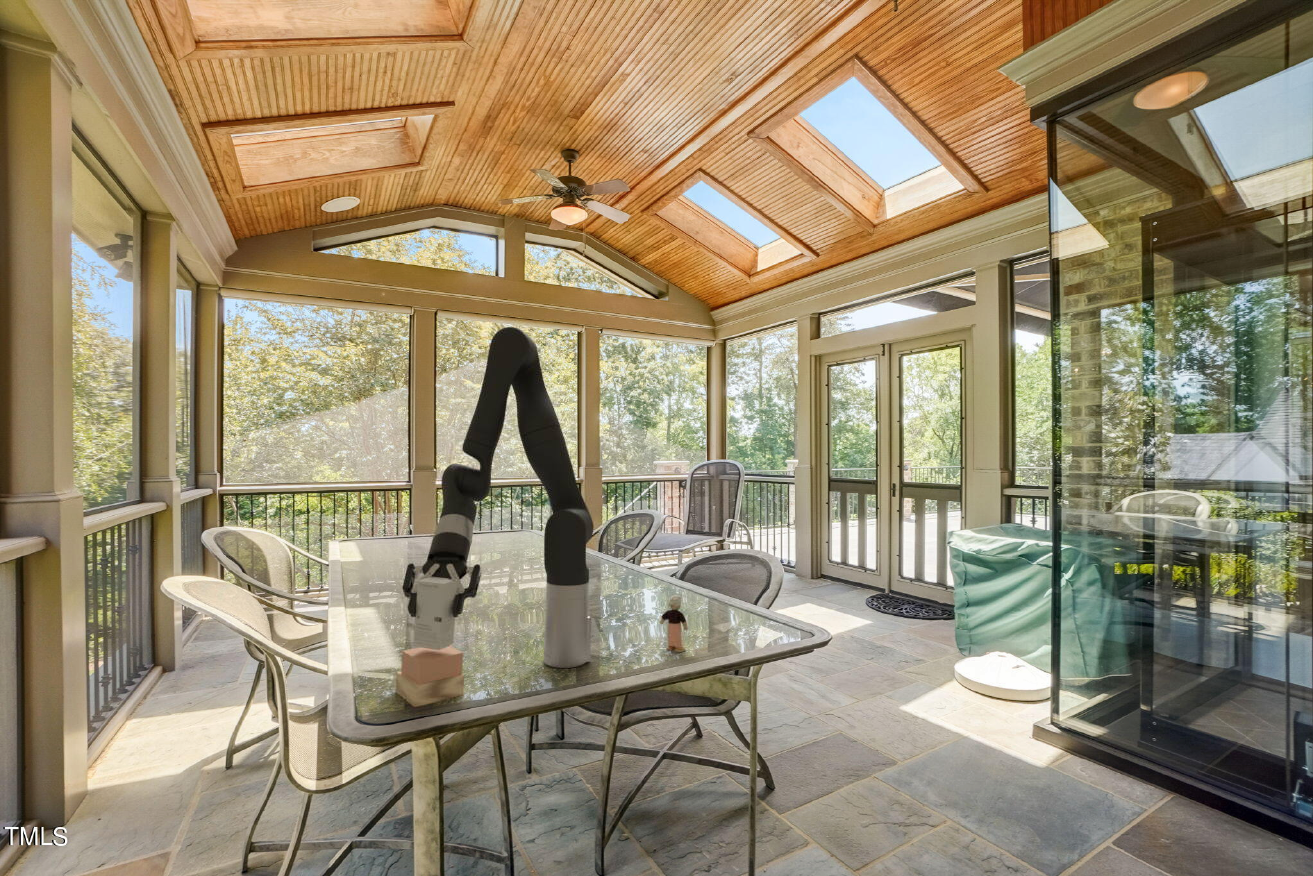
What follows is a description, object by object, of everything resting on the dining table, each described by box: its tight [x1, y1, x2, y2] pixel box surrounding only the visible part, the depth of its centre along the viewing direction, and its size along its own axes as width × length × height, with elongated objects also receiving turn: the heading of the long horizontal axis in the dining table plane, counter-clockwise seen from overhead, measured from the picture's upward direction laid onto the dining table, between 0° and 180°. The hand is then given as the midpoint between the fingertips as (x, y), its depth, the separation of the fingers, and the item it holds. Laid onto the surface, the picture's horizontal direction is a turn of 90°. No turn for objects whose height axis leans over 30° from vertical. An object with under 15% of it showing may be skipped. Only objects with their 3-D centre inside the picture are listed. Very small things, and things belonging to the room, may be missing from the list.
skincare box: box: [413, 577, 458, 650], centre depth 113 cm, size 6×4×12 cm
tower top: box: [401, 645, 464, 685], centre depth 113 cm, size 8×8×4 cm
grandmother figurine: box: [659, 594, 689, 653], centre depth 144 cm, size 8×4×13 cm, turn 65°
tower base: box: [395, 670, 465, 708], centre depth 113 cm, size 9×9×4 cm
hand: (433, 614), depth 112 cm, fingers closed on skincare box, 7 cm apart
